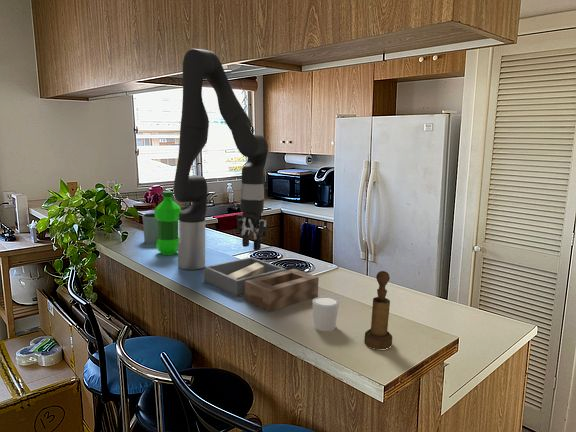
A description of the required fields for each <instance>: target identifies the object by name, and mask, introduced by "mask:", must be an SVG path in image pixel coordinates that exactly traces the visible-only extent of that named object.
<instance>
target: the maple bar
mask: <svg viewBox="0 0 576 432" xmlns="http://www.w3.org/2000/svg"><path fill="white" fill-rule="evenodd" d="M263 273H265V269H264V266H263V265H261V264H259V263H254V264H252V265H250V266H247V267H245V268H243V269H240V270H238V271H236V272H233V273H231V274H229V275H228V276H230V277H233V278H235V279H238V280H239V279H243V278H247V277H251V276H255V275H259V274H263Z"/></svg>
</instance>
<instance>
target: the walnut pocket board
mask: <svg viewBox="0 0 576 432" xmlns="http://www.w3.org/2000/svg"><path fill="white" fill-rule="evenodd" d="M319 281H320V280H319V276H316V275H314V274H311V273H308V272H304V271H302V270H300V269H296V268H292V269H288V270H287V269H286V271H282V272H278V273H274V274H271V275H267V276H263V277H259V278H255V279H251V280H247V281H245V295H244V297H243V298H244V302H247V303H249V304H251V305H254V306H256V307H258V308H259V309H262V310H264V311H266V312H273V311H275V310H279V309H282V308H285V307H288V306H292V305H294V304H297V303H300V302H303V301H307V300H309V299H312V298H313V299H314V298H317V297H319V296H318V295H319Z"/></svg>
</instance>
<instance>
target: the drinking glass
mask: <svg viewBox="0 0 576 432" xmlns="http://www.w3.org/2000/svg"><path fill="white" fill-rule="evenodd" d="M141 216H142V218H141V219H142V228H143V238H144V243H146V244H151V245H152V244H153V245H154V244H155V245H156V242H157V240H158V220H157V219H156V218H155V215H154V212H150V213H149V212H147V213H144V214H142V215H141Z"/></svg>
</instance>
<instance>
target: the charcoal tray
mask: <svg viewBox="0 0 576 432" xmlns="http://www.w3.org/2000/svg"><path fill="white" fill-rule="evenodd" d="M254 263H259V264H261V265H263V266H264V269H265V273H263V274H259V275H255V276H251V277H247V278H243V279H239V280H238V279H235V278H233V277H230V276H228V275H229V274H231V273H233V272H236V271H238V270H240V269H243V268H245V267H247V266H250V265H252V264H254ZM286 270H287V269H286V268H284V267H282V266H278V265H275V264H272V263H270V262H267V261H265V260H261V259H258V258H255V257H252V256H251V257H246V258H245V257H244V258H241V259H237V260H232V261H227V262H223V263H222V262H221V263H217V264H213V265H206V266H205V267H204V268H203V282H204V283H206V284H208V285H210V286H213V287H215V288H217V289H219V290H221V291H223V292H225V293H227V294H229V295H231V296H234V297H236V298H238V297H242V296H245V281H247V280H251V279H255V278H259V277H263V276H267V275H271V274H274V273H278V272H282V271H286Z"/></svg>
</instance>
